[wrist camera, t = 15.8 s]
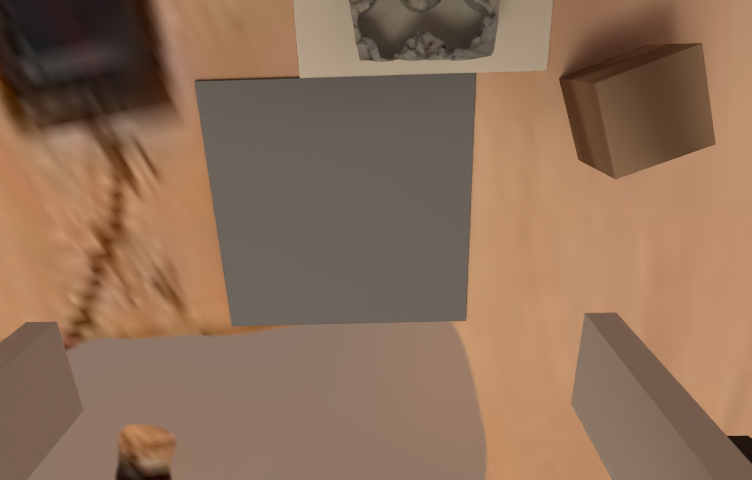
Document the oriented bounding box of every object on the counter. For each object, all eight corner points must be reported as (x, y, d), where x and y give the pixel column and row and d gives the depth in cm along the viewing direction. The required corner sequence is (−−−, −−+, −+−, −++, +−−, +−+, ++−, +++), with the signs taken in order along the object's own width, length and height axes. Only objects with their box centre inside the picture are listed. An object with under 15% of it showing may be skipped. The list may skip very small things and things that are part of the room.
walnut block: (578, 159, 30) (615, 179, 25) (558, 78, 28) (594, 83, 23) (661, 129, 29) (715, 144, 24) (646, 45, 27) (701, 43, 23)
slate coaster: (232, 324, 34) (232, 326, 34) (195, 81, 28) (194, 81, 28) (465, 319, 34) (465, 320, 33) (475, 72, 28) (476, 72, 28)
